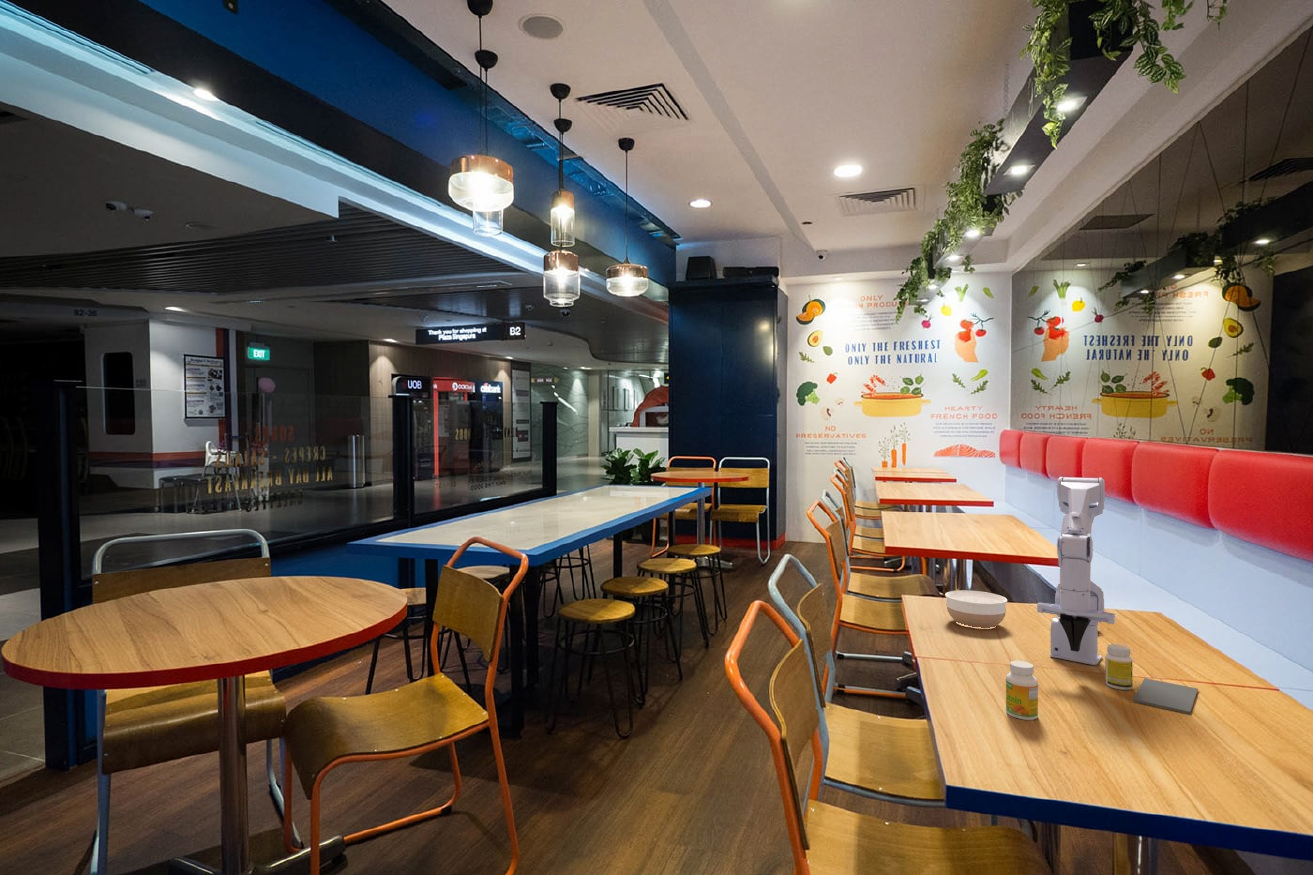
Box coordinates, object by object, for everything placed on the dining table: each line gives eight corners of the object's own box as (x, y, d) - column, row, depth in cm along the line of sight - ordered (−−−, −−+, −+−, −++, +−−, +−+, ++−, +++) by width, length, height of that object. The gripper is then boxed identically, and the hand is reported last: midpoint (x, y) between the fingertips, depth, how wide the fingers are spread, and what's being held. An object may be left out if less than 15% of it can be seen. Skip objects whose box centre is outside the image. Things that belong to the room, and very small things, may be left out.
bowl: (953, 631, 181) (953, 602, 181) (938, 615, 197) (938, 589, 197) (1016, 633, 179) (1016, 604, 179) (996, 618, 194) (996, 591, 194)
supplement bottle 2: (1137, 691, 138) (1136, 651, 138) (1111, 689, 139) (1111, 649, 139) (1125, 683, 143) (1125, 644, 143) (1101, 681, 144) (1101, 642, 144)
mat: (1132, 701, 132) (1132, 699, 132) (1144, 680, 144) (1144, 677, 144) (1190, 714, 126) (1190, 711, 126) (1197, 690, 138) (1197, 688, 138)
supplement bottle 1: (999, 711, 128) (999, 661, 128) (1019, 707, 130) (1018, 657, 130) (1024, 722, 123) (1024, 670, 123) (1044, 717, 125) (1044, 666, 125)
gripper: (1033, 586, 148) (1033, 647, 148) (1110, 597, 138) (1111, 662, 138) (1041, 581, 153) (1041, 640, 153) (1116, 591, 143) (1117, 654, 143)
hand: (1075, 650), depth 146 cm, fingers closed
